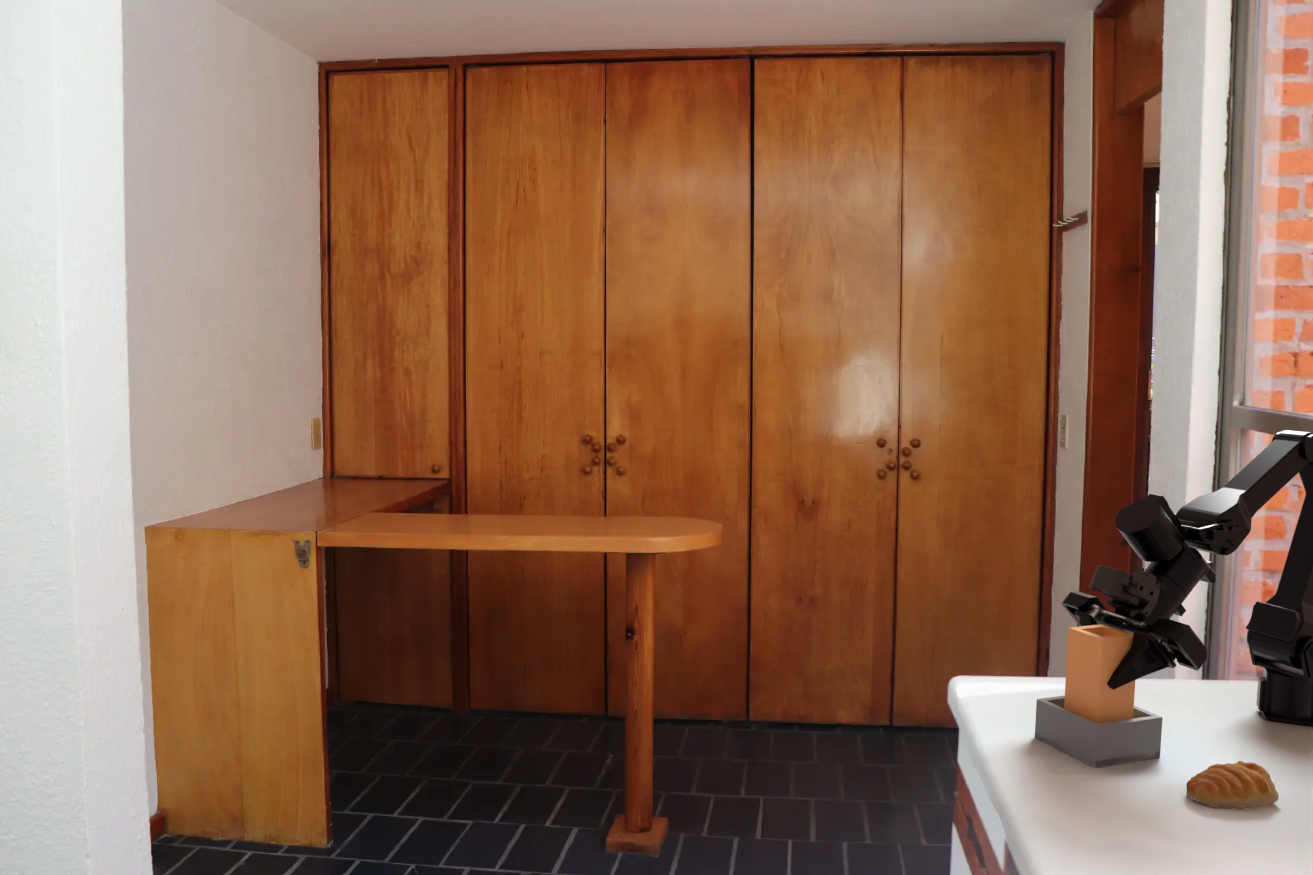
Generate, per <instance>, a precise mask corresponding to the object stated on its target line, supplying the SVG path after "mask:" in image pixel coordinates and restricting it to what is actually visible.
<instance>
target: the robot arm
mask: <svg viewBox="0 0 1313 875" xmlns="http://www.w3.org/2000/svg"><path fill="white" fill-rule="evenodd" d="M1298 474H1299V476H1300V480H1301V482H1302V483H1301V484H1302V486H1303V489H1304V491H1305V495H1304V498H1303V503H1302V506H1301V509H1300V512H1299V515H1298V518H1297V522H1296V525H1295V529H1294V532H1293V535H1292V538H1291V542H1290V546H1289V548H1288V552H1287V555H1286V559H1285V562H1284V565H1283V569H1282V572H1281V575H1280V578H1279V583H1278V584H1277V588H1276V591H1275V593H1274V595H1272V596H1271V597H1270V598H1268V599H1267V600H1266V601H1265V602H1263V601H1256V602H1255V604H1254V605H1253V606H1252V610H1251V616H1250V619H1249V621H1248V623H1247V625H1246V626H1245V629H1246V630H1247V634H1246V642H1247V645H1248V649H1249V654H1250V660H1251V664H1252V665H1253V666H1256V667H1261V668H1263V673H1262V674H1263V675H1260V676H1258V679H1257V689H1256V690H1257V692H1256V707H1257V709H1258V710H1259V711H1260V713H1261V714H1262V717H1263V719H1265V720H1270V721H1277V722H1283V723H1284V722H1285V723H1291V724H1296V725H1297V724H1300V725H1306V726H1312V727H1313V432H1311V431H1303V430H1302V431H1301V430H1290V429H1285V430H1282V431H1278V432H1276V433H1275V434H1274V435H1273V437H1272V438H1271V442H1270V444H1268V445H1266V447H1265V448H1264V449H1263V450H1262V451H1260V453H1258V454H1257V455H1256V456H1255V457H1254V458H1253V459H1252V460H1250V462H1249V463H1247V464H1246V465H1245V467H1243V468H1242V469H1241V470H1240V471H1239V472H1238V473H1236V474H1235V475H1234V476H1233V477H1232V478H1231V479H1230V480H1229V481H1228V482H1227V483H1226V484H1225V485H1223V486H1222V487H1221V488H1220V489H1218V490H1216V491H1213V492H1210V493H1207V494H1206V493H1205V494H1203V495H1200V496H1198V497H1196V498H1194V499H1193V500H1191V501H1189V502H1188V503H1186V504H1185V505H1183V506H1182V507H1180V509H1179V510H1178V511H1177V512H1175V513H1174V511H1173V510H1172V508H1171V507H1170V505H1169V503H1168V501H1167V499H1166V497H1164V495H1160V494H1155V493H1149V494H1147V496H1146V498H1145V499H1142V500H1141V499H1140V500H1137V501H1135V502H1132V503H1130V504H1129V505H1127V506H1125V507H1124V508H1121V509H1120V511H1119V512H1117V515H1116V517H1115V521H1114V522H1115V523H1114V524H1115V528H1116V529H1117V530H1118V532H1120V534H1121V535H1122V537H1123V538H1124V540H1125V541H1126V542H1127V543H1128V545H1129V546H1130V547H1131V549H1132V550H1133V551H1134V553H1135V554H1136V555H1137V556H1138V558H1140V560H1142V561H1144V562H1147V563H1148V562H1149V564H1148V566H1147V567H1146V568H1145V569H1144V571H1143V570H1140V569H1137V570H1136V571H1134V572H1132V573H1129V572H1125V571H1123V570H1120V569H1116V568H1112V567H1108V566H1105V565H1101V564H1098V565H1097V567H1096V568H1095V571H1094V574H1093V576H1092V579H1091V580H1090V581H1091V582H1090V584H1089V586H1088V589H1090V590H1092V591H1094V592H1095V591H1097V592H1099V593H1101V594H1103V595H1105V596H1107V598H1106V599H1105V601H1106V603H1108V605H1109V606H1110V607H1113V609H1114V610H1113V611H1110V610H1108V609H1107V608H1106V606H1105V605H1104V604H1103V603H1102V601H1101V600H1100V599H1099V598H1098V596H1095V595H1091V594H1088V593H1085V592H1082V591H1078V590H1077V591H1070V592H1069V593H1068V594H1067V596H1066V597H1065V598H1064V600H1063V601H1062V602H1061V606H1062V607H1063V608H1064V609H1065V610H1066V611H1067V613H1068V614H1069V615H1070V617H1071V618H1072V619H1073V620H1074V621H1075V622H1076V623H1077V625H1078V627H1080V626H1089V625H1098V624H1105V625H1108V626H1111V627H1114V628H1117V629H1120V630H1122V631H1125V632H1128V633H1131V634H1133V641H1132V646H1131V648H1130V650H1129V651H1128V653H1127V654H1126V655H1125V657H1124V658H1123V660H1122V661H1121V662H1120V664H1119V665H1118V667H1117V668H1116V669H1115V671H1114V672H1113V674H1112V676H1111V677H1110V679H1109V681H1108V683H1107V684H1108V686H1109V687H1110V688H1111V689H1116V688H1118V687H1121V686H1123V685H1125V684H1127V683H1130V682H1132V681H1134V680H1135V681H1137V680H1139V679H1140V678H1143V677H1146V676H1147V675H1150V674H1154V673H1156V672H1159V671H1162V670H1165V669H1166V668H1170V669H1174V668H1176V667H1177V663H1178V664H1179V666H1183V667H1186V668H1189V669H1191V670H1194V671H1199V670H1200V669H1201V668H1202V666H1203V665H1204V663H1205V662H1206V661H1207V660H1208V659H1207V658H1208V649H1207V647H1206V645H1205V644H1204V643H1203V641H1202V640H1201V639H1200V638H1199V636H1198V635H1197V634H1196V633H1195V631H1194V630H1193V628H1192V627H1191V626H1190V625H1189V624H1187V623H1182V622H1179V621H1176V620H1174V619H1171V618H1172V617H1173V616H1174V615H1176V616H1179V617H1183V615H1184V614H1185V613H1186V611H1187V609H1186V608H1185V607H1184V606H1183V603H1184V601H1185V600H1186V599H1187V598H1188V596H1189V595H1190V594H1191V592H1192V591H1193V590H1194V588H1195V587H1196V586H1197V584H1198V583H1199V582H1205V583H1208V584H1211V585H1212V584H1213V585H1214V584H1215V583H1216V582H1217V578H1216V573H1215V570H1214V562H1213V561H1210V560H1206V559H1205V558H1204V557H1203V555H1202V554H1201V553H1200V551H1202V552H1205V553H1210V554H1214V555H1219V556H1229V555H1232V554H1233V553H1234V552H1236V551H1237V550H1238V549H1239V547H1240V546H1241V544H1242V543H1243V542H1244V540H1245V539H1246V538H1247V536H1248V535H1250V533H1251V531H1252V520H1253V519H1252V518H1253V517H1254V516H1255V515H1256V513H1257V512H1258V511H1259V510H1260V509H1261V508H1263V507H1264V506H1265V505H1266V504H1267V503H1268V502H1269V501H1270V500H1271V499H1272V498H1273V497H1274V496H1275V495H1276V494H1277V493H1279V492H1280V491H1281V489H1283V488H1284V487H1285V486H1286V485H1287V484H1288V483H1289V482H1290V481H1291V480H1292V479H1293V478H1294V477H1296V475H1298ZM1175 660H1176V662H1177V663H1176V662H1175Z"/></svg>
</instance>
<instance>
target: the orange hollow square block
mask: <svg viewBox="0 0 1313 875" xmlns="http://www.w3.org/2000/svg"><path fill="white" fill-rule="evenodd" d="M1132 641H1133V634H1131V633H1128V632H1125V631H1122V630H1120V629H1117V628H1114V627H1111V626H1108V625H1105V624H1098V625H1089V626H1073V627H1068V631H1067V645H1066V646H1067V647H1066V651H1067V652H1066V663H1065V664H1066V666H1065V667H1066V669H1065V684H1064V695H1065V701H1064V709H1066V710H1068V711H1070V712H1073V713H1075V714H1077V715H1079V716H1081V717H1084V718H1086V719H1088V720H1090V721H1092V722H1095V723H1097V724H1100V723H1107V722H1114V721H1121V720H1127V719H1133V712H1134V706H1135V696H1136V695H1135V692H1136V691H1135V690H1136V680H1134V681H1132V682H1130V683H1127V684H1125V685H1123V686H1121V687H1118V688H1116V689H1111V688H1110V687H1109V686H1108V684H1107V683H1108V681H1109V679H1110V677H1111V676H1112V674H1113V672H1114V671H1115V669H1116V668H1117V667H1118V665H1119V664H1120V662H1121V661H1122V660H1123V658H1124V657H1125V655H1126V654H1127V653H1128V651H1129V650H1130V648H1131V646H1132Z"/></svg>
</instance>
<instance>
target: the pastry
mask: <svg viewBox="0 0 1313 875" xmlns="http://www.w3.org/2000/svg"><path fill="white" fill-rule="evenodd" d="M1186 797H1189V798H1190V799H1193V800H1194V801H1197V802H1198V803H1201V804H1204V805H1206V806H1208V807H1210V808H1213V809H1231V810H1245V809H1256V808H1257V809H1258V808H1265V807H1266V808H1267V807H1270V806H1272V805H1273V806H1274V804H1275V803H1276V802H1278V800H1279V793H1278V790H1277V789H1276V786H1275V783H1274V782H1273V781H1272V779H1271V775H1270V773H1269V772H1268V771H1267V770H1266V769H1265V768H1264V767H1262V766H1261V765H1259V764H1257V763H1256V762H1244V761H1242V760H1238V761H1237V762H1236V763H1231V762H1230V763H1228V762H1227V763H1222V764H1221V763H1216V764H1211V765H1209V766H1208V768H1206V769H1204V770H1202V771H1201V772H1199V773H1197V774H1195V775H1194V776H1192V777H1191V778H1190V779H1189V780H1188V781H1187V782H1186Z"/></svg>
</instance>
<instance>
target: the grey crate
mask: <svg viewBox="0 0 1313 875" xmlns="http://www.w3.org/2000/svg"><path fill="white" fill-rule="evenodd" d="M1064 701H1065V694H1064V695H1058V696H1050V697H1043V698H1037V699H1036V706H1035V725H1034V726H1035V727H1034V738H1035V739H1037V740H1039V741H1042V742H1043V743H1044V744H1047V745H1049V746H1051V747H1053V748H1055V749H1056V750H1059V751H1061V752H1063V753H1065V754H1067V755H1069V756H1070V757H1073V758H1074V759H1077V760H1079V761H1081V762H1082V763H1084V764H1087V765H1089V766H1091V767H1092V768H1094V769H1097V768H1102V767H1103V768H1104V767H1109V766H1115V765H1120V764H1127V763H1133V762H1134V763H1135V762H1139V761H1144V760H1145V761H1146V760H1149V759H1150V760H1151V759H1156V758H1157V759H1158V758H1160V757H1161V745H1162V731H1163V716H1161V715H1158V714H1156V713H1154V712H1150V711H1148V710H1146V709H1144V708H1142V707H1139V706H1136V705H1134V712H1133V719H1127V720H1121V721H1114V722H1107V723H1100V724H1097V723H1095V722H1092V721H1090V720H1088V719H1086V718H1084V717H1081V716H1079V715H1077V714H1075V713H1073V712H1070V711H1068V710H1066V709H1064Z"/></svg>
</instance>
